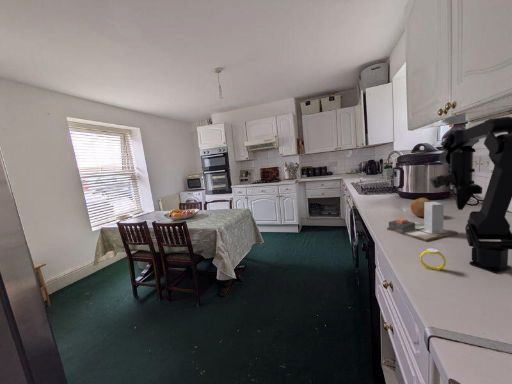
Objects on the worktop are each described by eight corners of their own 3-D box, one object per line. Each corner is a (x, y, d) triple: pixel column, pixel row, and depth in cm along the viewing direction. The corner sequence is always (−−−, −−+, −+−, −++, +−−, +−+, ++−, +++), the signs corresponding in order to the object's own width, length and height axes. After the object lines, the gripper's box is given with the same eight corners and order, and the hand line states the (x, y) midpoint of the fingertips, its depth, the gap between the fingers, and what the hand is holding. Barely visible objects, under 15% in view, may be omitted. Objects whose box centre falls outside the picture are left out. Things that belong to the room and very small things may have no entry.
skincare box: (443, 233, 90) (444, 204, 88) (431, 233, 91) (432, 205, 89) (434, 228, 96) (435, 201, 94) (423, 228, 97) (423, 202, 95)
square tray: (457, 233, 90) (457, 224, 90) (425, 241, 86) (425, 232, 85) (415, 223, 107) (415, 215, 107) (387, 229, 103) (386, 221, 103)
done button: (407, 226, 98) (407, 219, 98) (401, 227, 98) (401, 220, 97) (401, 224, 101) (401, 218, 101) (396, 225, 100) (395, 219, 100)
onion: (425, 213, 121) (425, 195, 119) (438, 218, 111) (438, 198, 109) (406, 215, 122) (406, 197, 120) (418, 219, 112) (418, 200, 110)
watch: (420, 269, 68) (419, 250, 67) (421, 265, 70) (419, 247, 70) (446, 272, 64) (444, 252, 64) (445, 268, 66) (444, 249, 66)
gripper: (427, 166, 89) (427, 203, 91) (437, 169, 73) (437, 215, 75) (464, 163, 84) (463, 204, 86) (483, 167, 68) (482, 216, 70)
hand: (460, 209), depth 79 cm, fingers closed
